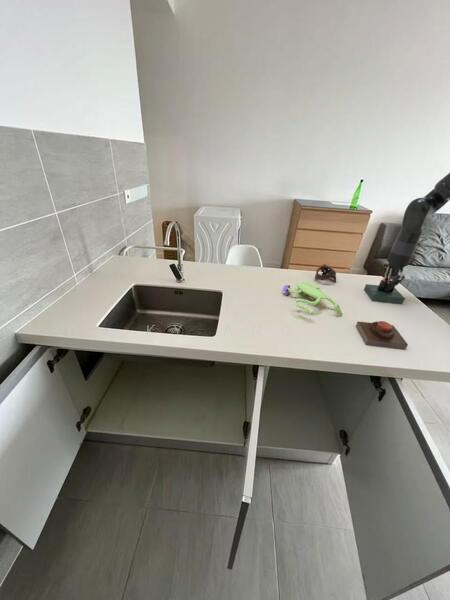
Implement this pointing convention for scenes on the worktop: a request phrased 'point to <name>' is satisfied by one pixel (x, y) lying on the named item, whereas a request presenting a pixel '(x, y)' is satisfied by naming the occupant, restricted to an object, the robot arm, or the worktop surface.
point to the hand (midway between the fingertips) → (384, 290)
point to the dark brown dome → (325, 273)
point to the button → (384, 326)
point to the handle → (383, 284)
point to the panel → (383, 295)
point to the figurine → (312, 292)
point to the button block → (380, 336)
